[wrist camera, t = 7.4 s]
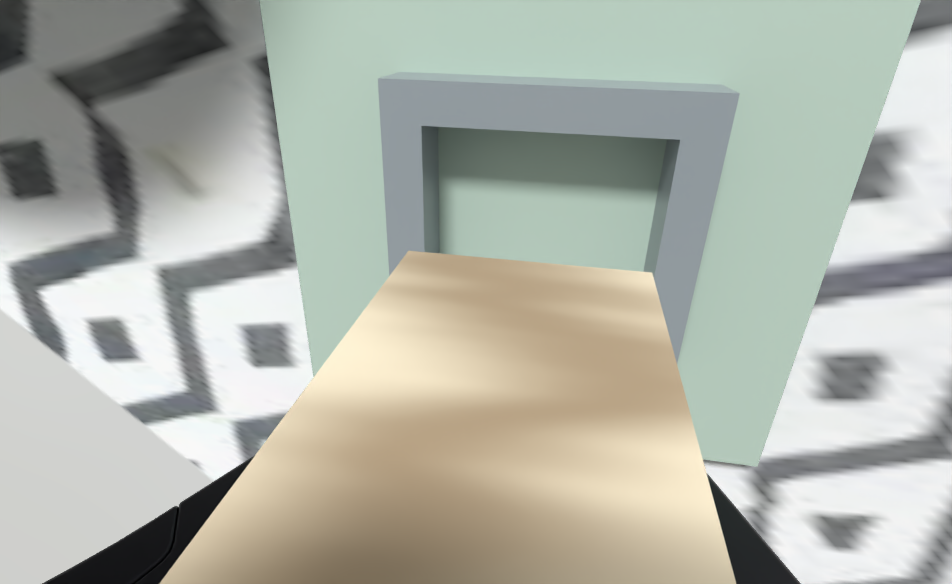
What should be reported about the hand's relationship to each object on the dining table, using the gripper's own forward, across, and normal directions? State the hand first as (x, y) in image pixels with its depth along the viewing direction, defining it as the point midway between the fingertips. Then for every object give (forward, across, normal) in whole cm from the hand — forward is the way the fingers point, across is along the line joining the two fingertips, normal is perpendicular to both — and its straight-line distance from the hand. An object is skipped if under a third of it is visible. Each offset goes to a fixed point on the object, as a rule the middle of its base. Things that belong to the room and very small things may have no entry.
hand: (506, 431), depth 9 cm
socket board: (+11, 0, 0) cm, 11 cm away
